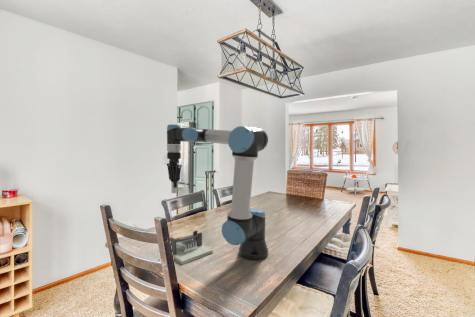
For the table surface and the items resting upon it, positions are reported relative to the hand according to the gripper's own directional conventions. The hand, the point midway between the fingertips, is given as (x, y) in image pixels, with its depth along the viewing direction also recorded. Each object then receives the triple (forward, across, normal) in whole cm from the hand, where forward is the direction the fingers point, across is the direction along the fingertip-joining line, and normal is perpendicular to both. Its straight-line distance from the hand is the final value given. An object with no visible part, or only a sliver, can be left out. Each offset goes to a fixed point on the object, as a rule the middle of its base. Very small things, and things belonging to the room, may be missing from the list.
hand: (174, 192), depth 137 cm
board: (+28, -16, +2) cm, 33 cm away
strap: (+22, -16, +1) cm, 28 cm away
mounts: (+27, -16, +2) cm, 31 cm away
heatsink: (+27, -16, +2) cm, 31 cm away
